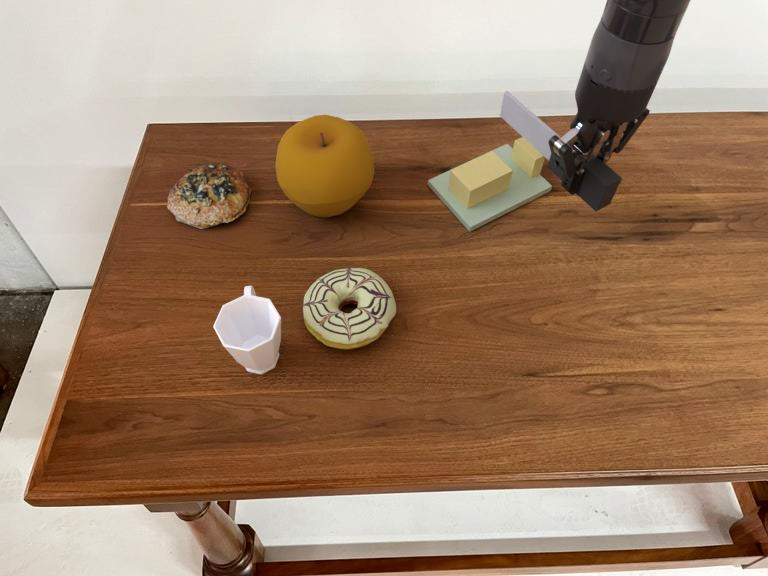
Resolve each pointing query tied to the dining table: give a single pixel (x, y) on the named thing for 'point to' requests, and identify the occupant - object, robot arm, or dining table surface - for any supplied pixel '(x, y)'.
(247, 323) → the cup
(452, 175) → the butter block
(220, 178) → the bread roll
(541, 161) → the butter slice
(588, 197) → the knife
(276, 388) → the dining table surface
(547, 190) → the butter board
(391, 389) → the dining table surface
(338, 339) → the decorated donut
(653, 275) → the dining table surface
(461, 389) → the dining table surface
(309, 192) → the apple
